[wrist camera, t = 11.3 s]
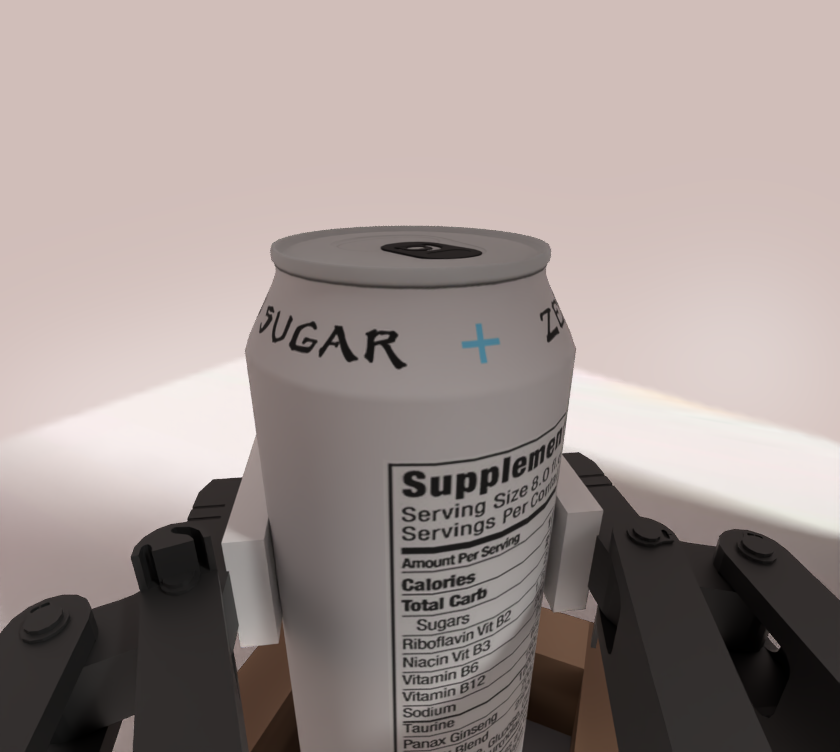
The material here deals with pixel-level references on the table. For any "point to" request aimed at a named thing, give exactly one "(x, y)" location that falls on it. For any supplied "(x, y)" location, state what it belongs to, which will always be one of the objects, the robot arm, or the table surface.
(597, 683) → the brown wooden open box
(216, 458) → the table surface
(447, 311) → the energy drink can
